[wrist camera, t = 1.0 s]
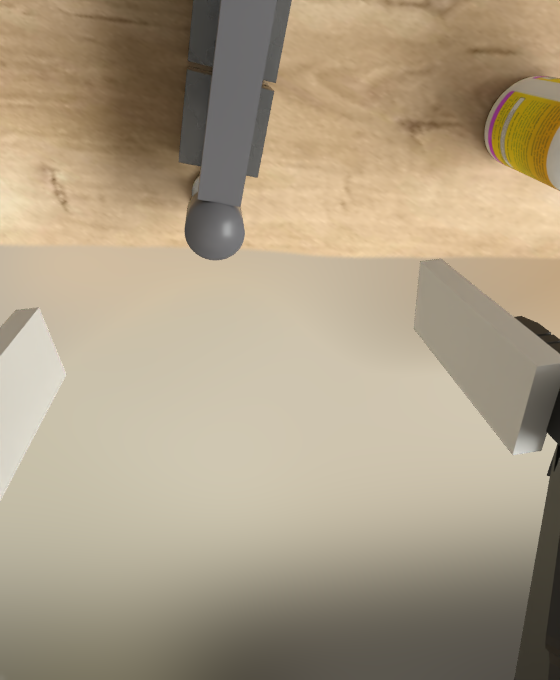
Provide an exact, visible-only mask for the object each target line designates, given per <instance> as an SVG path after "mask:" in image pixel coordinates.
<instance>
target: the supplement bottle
mask: <svg viewBox="0 0 560 680" xmlns="http://www.w3.org/2000/svg"><path fill="white" fill-rule="evenodd" d="M484 138H485V144H486V147H487V150H488V152H489V153H490V155H491V156H492V157H493V158H494V159H495V160H497V161H498V162H500V163H502V164H504V165H506V166H508V167H510V168H513V169H515V170H517V171H519V172H521V173H523V174H526V175H528V176H530V177H532V178H534V179H536V180H538V181H540V182H542V183H545V184H547V185H549V186H551V187H553V188H555V189H557V190H559V191H560V78H554V77H547V76H533V77H528V78H525V79H523V80H520V81H518V82H517V83H515V84H513V85H512V86H511V87H509V88H508V89H507V90H506V91H505V92H504V93H503V94H502V95H501V96H500V97H499V98H498V99H497V101H496V102H495V104H494V105H493V107H492V109H491V111H490V113H489V115H488V118H487V121H486V125H485V131H484Z"/></svg>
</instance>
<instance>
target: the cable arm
mask: <svg viewBox="0 0 560 680" xmlns="http://www.w3.org/2000/svg"><path fill="white" fill-rule="evenodd" d="M276 3H277V0H221V1H220V10H219V18H218V26H217V35H216V43H215V51H214V60H213V68H212V77H211V85H210V93H209V102H208V110H207V119H206V127H205V135H204V144H203V152H202V161H201V169H200V177H199V187H198V192H197V193H195V194H194V195H193V197H192V198H191V199H190V201H189V204H188V208H187V215H186V223H185V237H186V241H187V243H188V245H189V247H190V248H191V249H192V250H193V251H194V252H195V253H196V254H197V255H199V256H201V257H203V258H205V259H209V260H222V259H226V258H228V257H230V256H232V255H234V254H235V253H236V252H237V251H238V250H239V249H240V247H241V245H242V243H243V240H244V235H245V231H244V224H243V218H242V212H241V207H240V206H241V201H242V195H243V189H244V184H245V178H246V172H247V167H248V161H249V155H250V150H251V144H252V138H253V133H254V127H255V121H256V116H257V110H258V104H259V99H260V93H261V87H262V82H263V76H264V71H265V65H266V59H267V54H268V48H269V42H270V37H271V31H272V25H273V20H274V14H275V8H276Z"/></svg>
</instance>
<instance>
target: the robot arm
mask: <svg viewBox="0 0 560 680" xmlns="http://www.w3.org/2000/svg"><path fill="white" fill-rule="evenodd" d="M414 330H415V331H416V332H417V334H418V335H419V336H420V337H421V338H422V340H423V341H424V343H425V344H426V345H427V346H428V348H429V349H430V350H431V351H432V353H433V354H434V355H435V356H436V358H437V359H438V360H439V362H440V363H441V364H442V365H443V367H444V368H445V369H446V371H448V373H449V374H450V376H451V377H452V378H453V380H454V381H455V382H456V383H457V385H458V386H459V387H460V388H461V390H462V391H463V392H464V394H465V395H466V396H467V397H468V399H469V400H470V401H471V402H472V404H473V405H474V406H475V408H476V409H477V410H478V411H479V413H480V414H481V415H482V416H483V418H484V419H485V420H486V422H487V423H488V424H489V425H490V426H491V428H492V429H493V430H494V432H495V433H496V434H497V436H498V437H499V438H500V439H501V441H502V442H503V443H504V445H505V446H506V447H507V448H508V450H509V451H510V452H511V453H512V455H516V454H522V453H530V452H536V451H541V450H542V447H543V444H544V441H545V437H546V434H547V433H548V434H549V435H550V436H551V437H552V438H553V439H554V440H555V441H556V442H557V443H558V444H557V447H556V450H555V453H554V456H553V459H552V461H551V464H550V467H549V470H548V473H547V476H550V480H549V485H548V492H547V497H546V502H545V508H544V514H543V519H542V525H541V531H540V536H539V542H538V548H537V554H536V559H535V565H534V570H533V576H532V582H531V587H530V593H529V599H528V604H527V611H526V616H525V621H524V627H523V632H522V638H521V644H520V650H519V655H518V661H517V666H516V673H515V678H514V680H560V339H558V338H557V337H556V336H555V335H551V332H549V331H548V330H547V329H545V328H544V327H543V326H541V325H540V324H538V323H537V322H534V321H532V320H529V319H527V318H525V317H522V316H518V317H513V316H512V315H510V314H509V313H508V312H507V311H506V310H504V309H503V308H502V307H501V306H499V305H498V304H497V303H496V302H494V301H493V300H492V299H491V298H489V297H488V296H487V295H486V294H484V293H483V292H482V291H480V290H479V289H478V288H477V287H476V286H475V285H473V284H472V283H471V282H470V281H468V280H467V279H466V278H464V277H463V276H462V275H461V274H459V273H458V272H457V271H456V270H454V269H453V268H452V267H451V266H450V265H448V264H447V263H446V262H445V261H443V260H442V259H434V260H426V261H420V267H419V279H418V289H417V300H416V310H415V322H414ZM65 376H66V372H65V369H64V367H63V365H62V362H61V360H60V358H59V355H58V352H57V350H56V347H55V345H54V343H53V340H52V338H51V335H50V333H49V330H48V328H47V325H46V323H45V321H44V318H43V316H42V313H41V311H40V308H39V307H38V308H30V309H21V310H16V311H14V313H13V314H12V315H11V316H10V317H9V318H8V319H7V320H6V322H5V323H4V324H3V325H2V326H1V327H0V501H1V499H2V497H3V495H4V493H5V491H6V489H7V487H8V485H9V484H10V482H11V480H12V478H13V476H14V474H15V472H16V470H17V468H18V466H19V464H20V462H21V461H22V459H23V456H24V455H25V453H26V451H27V449H28V447H29V445H30V443H31V441H32V439H33V437H34V436H35V434H36V432H37V430H38V428H39V426H40V424H41V422H42V420H43V418H44V416H45V415H46V413H47V411H48V409H49V407H50V405H51V403H52V401H53V399H54V397H55V395H56V393H57V392H58V390H59V387H60V386H61V383H62V382H63V380H64V378H65Z"/></svg>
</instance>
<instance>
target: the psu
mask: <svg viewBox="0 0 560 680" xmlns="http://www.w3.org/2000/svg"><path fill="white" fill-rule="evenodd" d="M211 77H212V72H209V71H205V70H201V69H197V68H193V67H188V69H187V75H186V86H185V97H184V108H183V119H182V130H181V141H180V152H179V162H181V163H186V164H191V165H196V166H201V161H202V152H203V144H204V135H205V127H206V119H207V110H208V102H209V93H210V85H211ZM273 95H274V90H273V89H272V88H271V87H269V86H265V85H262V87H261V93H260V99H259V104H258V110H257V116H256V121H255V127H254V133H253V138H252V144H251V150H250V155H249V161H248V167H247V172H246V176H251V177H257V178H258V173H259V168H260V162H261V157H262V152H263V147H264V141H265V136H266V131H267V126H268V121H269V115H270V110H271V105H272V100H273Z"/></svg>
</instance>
